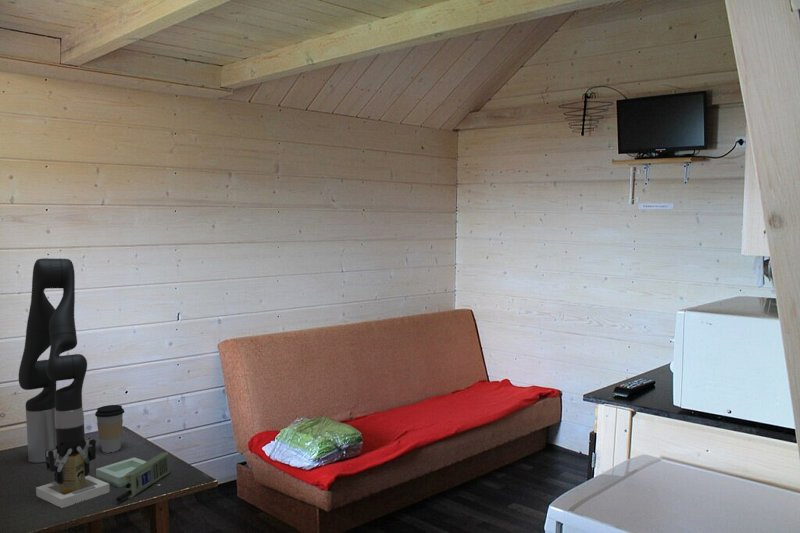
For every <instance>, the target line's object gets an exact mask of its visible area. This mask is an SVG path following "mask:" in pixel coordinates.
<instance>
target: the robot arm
mask: <svg viewBox="0 0 800 533" xmlns="http://www.w3.org/2000/svg"><path fill="white" fill-rule="evenodd" d="M33 264H34V265H33V268H32V269H33V270H32V278H31V279H32V281H31V297H30V299H31V300H30V305H29V311H28V316H27V323H26V331H25V341H24V348H23V354H22V357H21V360H20V365H19V369H18V385H19V386H20V388H21V389H22V390H24V391H32V390H38V389H42V390H41V391H40V392H39V393H38V394H36V395H35V396H33V397H31V398H30V399H27V400H26V401H25V419H26V438H27V439H26V440H27V456H28V457H27V460H28V462H30V463H45V467H46V470H47V471H50V472H52V473H53V474H54V476H53V477H54V481H55V482H57V484H63V478H62V471H61V470H62V468H63V466H64V464H65V463H66V461H67V459H68V456H69V455H73V454H76V453H81V452H82V453H81V456H82V458H83V460H84V462H85V477H86V476H88V475H89V474H90V471H91V470H90V462H91V461H94V460H95V459H96V458H97V457H96V453H97V452H96V451H97V447H96V443H97V442H96V439H95V438H88V439H85V436H86V435H85V433H86V432H85V414H84V411H83V410H84V408H83V387H84V386H83V385H84V381H85V377H86V373H87V370H88V360H87V358H86V357H85V356H84V355H83V354H81V353H74V354H65V355H61V354H63V353H65V352H69V351H71V350H73V349H76V347H77V345H78V337H77V328H76V322H75V320H76V319H75V303H76V300H75V299H76V292H75V289H76V288H75V284H76V281H75V280H76V278H75V267H74V264H73V262H72V260H71V259H69V258H48V257H47V258H46V257H45V258H44V257H43V258H38V259H36V261H35V262H34V263H33ZM46 289H62V290H63V292H62V297H61V299H60V301H59V303H58V305H57V306H56V308H55V307H54V306H53V305H52V303H51V302H50V301H49V298H48V297H47V296H46V293H45V290H46ZM49 348H50V349H49ZM48 349H49V350H50V351H49V357H48V359H41V360H39V358H40V357H41V356H42V354H44V352H47V350H48ZM68 380H72V382H71V383H70V384H68V385H66V386H63V387H60V388H58V389H57V382H59V381H68ZM85 447H87V454H86V452H85V451H84V449H85ZM58 456H62V457H63V459H62V460H59V459H58Z"/></svg>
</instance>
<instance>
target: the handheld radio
mask: <svg viewBox="0 0 800 533" xmlns="http://www.w3.org/2000/svg"><path fill="white" fill-rule="evenodd" d="M169 458H170V457H169V452H168V451H167V452H166V451H165V452H164V451H163V452H161V453H159V454H157V455H155V456H154V457H152V458H151V459H149V460H148V461H146V463H144V464H142V465H140V466H139V467H137V468H135V469H134V470H132V471H130V472H129V473H127V474H126V475H125V476H126V486H125V488H126V492H124V493H122V494H121V495H119V496H118V497H116V498H115V501H116V502H117V503H120V502H121V501H123V500H125V499H126V498H127V499H131V498H133V497H135V496H136V495H138V494H140V493H141V492H143V491H144V490H145V489H147V488H148V487H150V486H151V485H153V484H154V483H157V482H158V481H159V480H161V479H162V478H164V477H165V476H167V475H169V474H170V473H171V470H170V459H169Z"/></svg>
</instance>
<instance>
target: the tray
mask: <svg viewBox="0 0 800 533" xmlns="http://www.w3.org/2000/svg"><path fill="white" fill-rule="evenodd" d="M146 462H147V461H146V460H143V459H140V458H138V457H131V458H128V459H127V458H126V459H124V460H120V461H118V462H115V463H111V464H108V465H105V466H102V467H98V468H95V478H96V479H99V480H101V481H103V482H106V483H108V484H109V485H111V486H114V487H117V488H122V487H126V476H125V475H126V474H127V473H129V472H130V471H132V470H134V469H135V468H137V467H139V466H140V465H142V464H144V463H146Z"/></svg>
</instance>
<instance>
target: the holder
mask: <svg viewBox="0 0 800 533" xmlns="http://www.w3.org/2000/svg"><path fill="white" fill-rule="evenodd" d="M85 482H86V488H83V489H80V490H77V491H74V492H72V493H69V494H66V495H63V494H61V493H60V484H57V482H55V480H54V481H51V482H50V483H47V484H43V485H40V486H37V487H35V492H36V494H35V495H36V497H38V498H40V499H42V500H43V501H46V502H49V503H50V504H53V505H54V506H56V507H58V508H61V509H64V508H67V507H69V506H72V505H76V504H80V503H82V502H84V500H85V501H88V500H91V499H93V498H97V497H101V496H103V495H105V494H108V493H110V492H111V491H110V489H111V488H110V484H108V483H106V482H104V481H101V480H99V479H96V477H93V476H91V475H89V474H88V476H86V477H85ZM81 501H82V502H81ZM75 503H76V504H75Z"/></svg>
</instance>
